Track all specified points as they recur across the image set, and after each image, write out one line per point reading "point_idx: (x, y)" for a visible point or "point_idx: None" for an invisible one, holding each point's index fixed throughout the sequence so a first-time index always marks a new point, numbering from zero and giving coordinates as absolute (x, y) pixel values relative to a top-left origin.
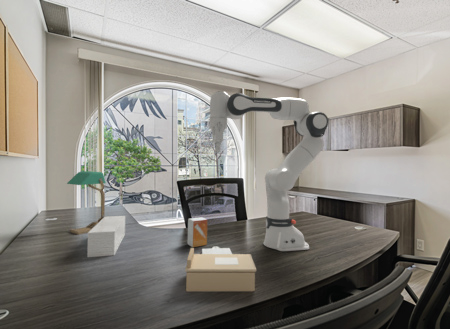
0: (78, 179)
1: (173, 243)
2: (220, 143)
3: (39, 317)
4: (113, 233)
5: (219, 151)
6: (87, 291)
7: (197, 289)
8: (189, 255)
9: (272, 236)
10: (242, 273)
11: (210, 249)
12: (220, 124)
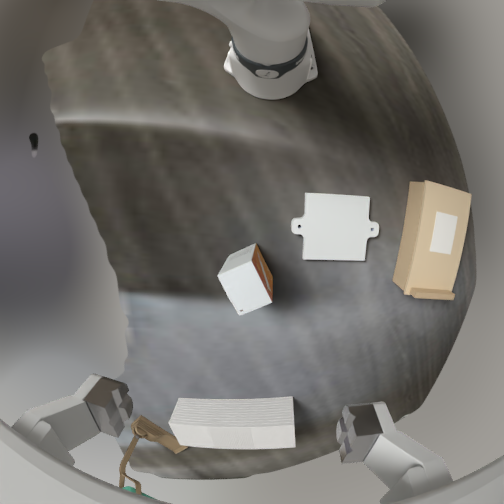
0: None
1: (239, 317)
2: (445, 469)
3: (422, 394)
4: (293, 423)
5: (381, 405)
6: (396, 384)
7: None
8: (441, 297)
9: (295, 77)
10: None
11: (310, 240)
12: None
